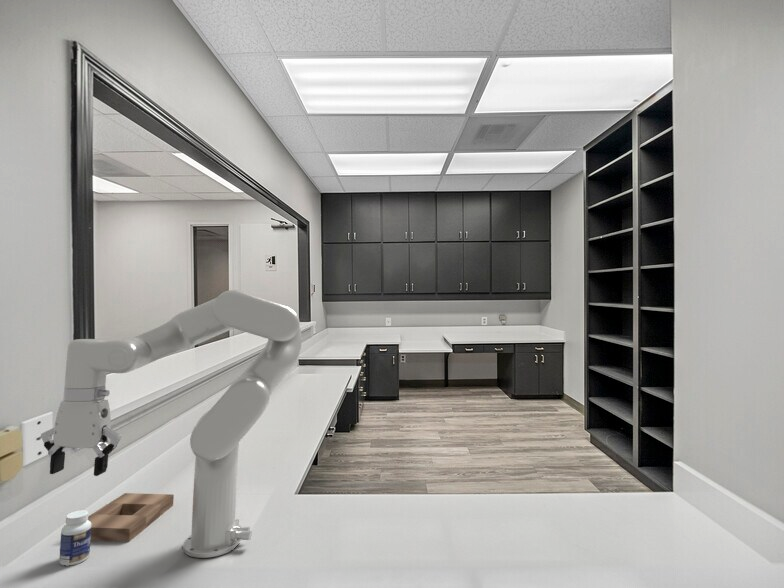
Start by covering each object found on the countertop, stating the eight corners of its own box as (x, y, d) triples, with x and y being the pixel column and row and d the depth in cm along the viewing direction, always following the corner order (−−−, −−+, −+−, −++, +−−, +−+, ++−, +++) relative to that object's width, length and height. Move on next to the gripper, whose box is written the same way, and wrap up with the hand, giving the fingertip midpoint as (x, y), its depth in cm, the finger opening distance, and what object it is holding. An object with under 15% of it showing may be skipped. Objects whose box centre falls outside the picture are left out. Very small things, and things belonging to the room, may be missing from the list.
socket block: (173, 505, 122) (173, 494, 122) (129, 541, 102) (129, 528, 102) (124, 503, 122) (124, 493, 122) (70, 539, 102) (71, 526, 102)
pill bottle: (73, 568, 91) (76, 521, 91) (52, 564, 92) (55, 518, 93) (95, 554, 96) (98, 510, 97) (75, 551, 97) (78, 507, 98)
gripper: (133, 393, 100) (127, 468, 99) (59, 390, 100) (53, 465, 99) (111, 399, 92) (105, 480, 91) (32, 396, 93) (25, 477, 91)
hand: (78, 472), depth 95 cm, fingers open, 9 cm apart
